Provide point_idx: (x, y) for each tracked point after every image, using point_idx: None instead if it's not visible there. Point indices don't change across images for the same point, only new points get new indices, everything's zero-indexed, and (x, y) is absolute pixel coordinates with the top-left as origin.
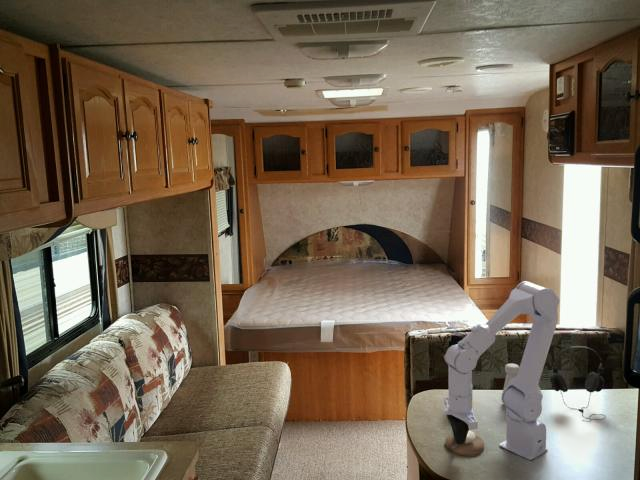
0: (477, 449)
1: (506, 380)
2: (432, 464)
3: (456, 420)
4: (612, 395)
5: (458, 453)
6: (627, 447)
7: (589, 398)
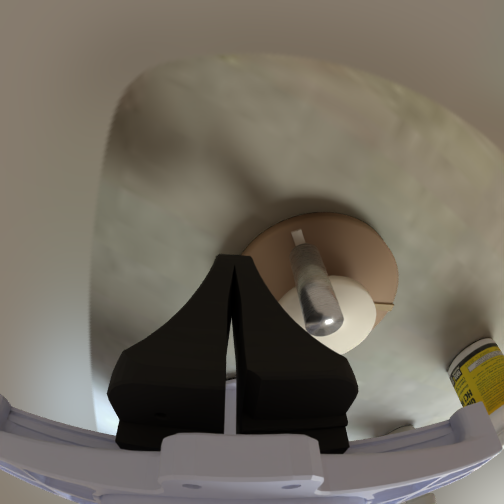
0: None
1: None
2: (225, 64)
3: (152, 407)
4: None
5: (263, 236)
6: None
7: None
